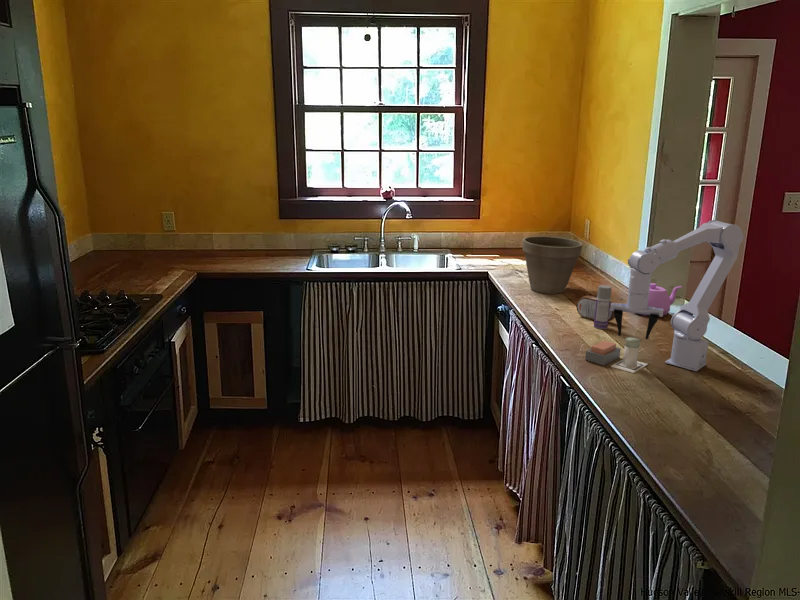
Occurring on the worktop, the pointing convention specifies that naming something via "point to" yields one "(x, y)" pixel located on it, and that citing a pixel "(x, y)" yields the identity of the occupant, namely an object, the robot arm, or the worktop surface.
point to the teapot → (661, 298)
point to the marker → (631, 352)
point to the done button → (603, 347)
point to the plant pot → (550, 262)
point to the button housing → (602, 356)
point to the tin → (590, 308)
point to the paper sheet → (629, 369)
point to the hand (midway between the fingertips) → (633, 336)
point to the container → (602, 307)
